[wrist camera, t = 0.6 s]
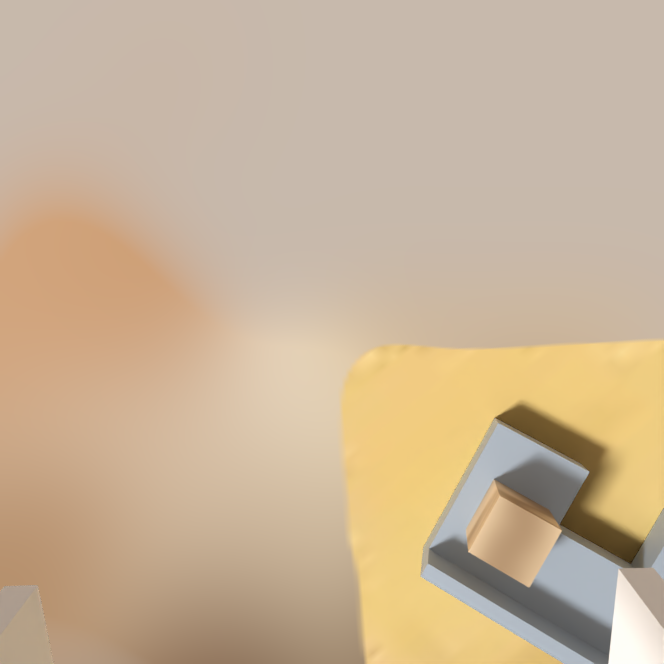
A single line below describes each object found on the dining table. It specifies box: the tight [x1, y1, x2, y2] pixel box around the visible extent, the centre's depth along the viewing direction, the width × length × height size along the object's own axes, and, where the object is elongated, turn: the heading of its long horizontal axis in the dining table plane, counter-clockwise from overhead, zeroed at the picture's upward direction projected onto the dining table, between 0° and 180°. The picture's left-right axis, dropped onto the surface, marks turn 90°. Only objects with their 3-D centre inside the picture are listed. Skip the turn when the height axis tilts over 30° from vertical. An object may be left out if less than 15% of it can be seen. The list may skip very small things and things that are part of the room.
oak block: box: [466, 479, 562, 587], centre depth 35 cm, size 4×4×4 cm
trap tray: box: [421, 418, 664, 664], centre depth 35 cm, size 26×11×5 cm, turn 62°
